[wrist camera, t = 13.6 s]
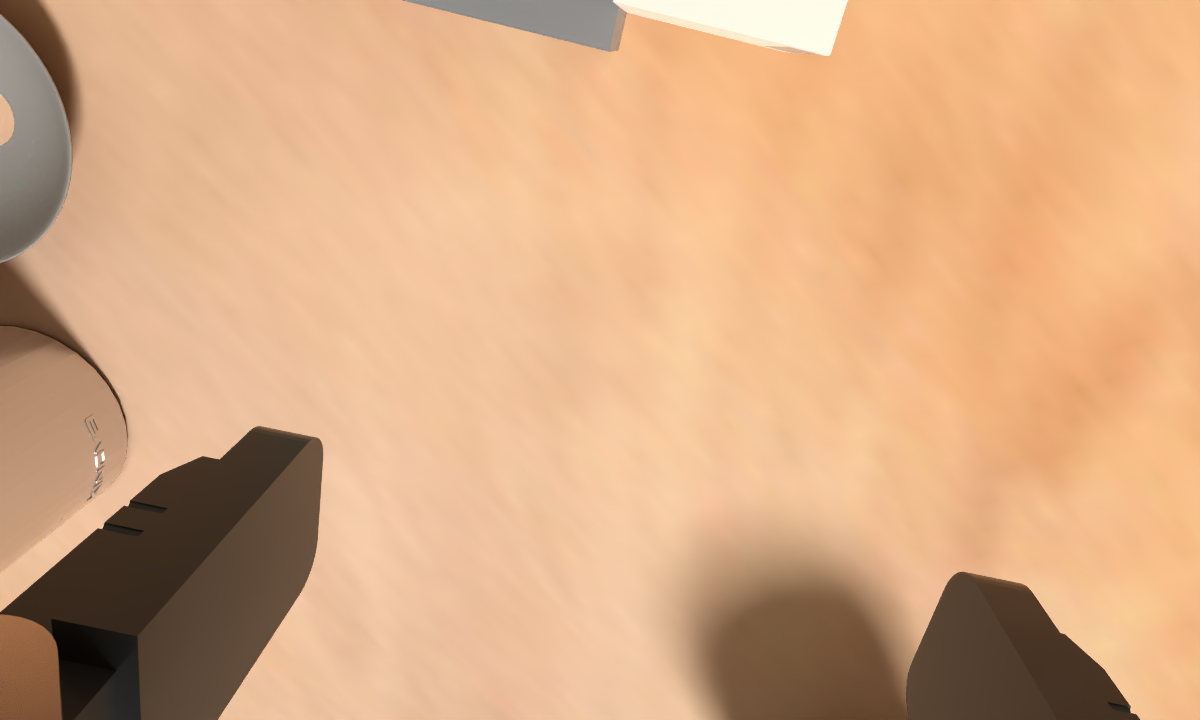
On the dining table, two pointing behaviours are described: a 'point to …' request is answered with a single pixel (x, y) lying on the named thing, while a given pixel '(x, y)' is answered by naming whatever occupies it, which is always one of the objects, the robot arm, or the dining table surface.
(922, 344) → the dining table surface
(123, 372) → the dining table surface
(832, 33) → the cabinet
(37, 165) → the spoon
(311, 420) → the dining table surface
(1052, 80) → the dining table surface
